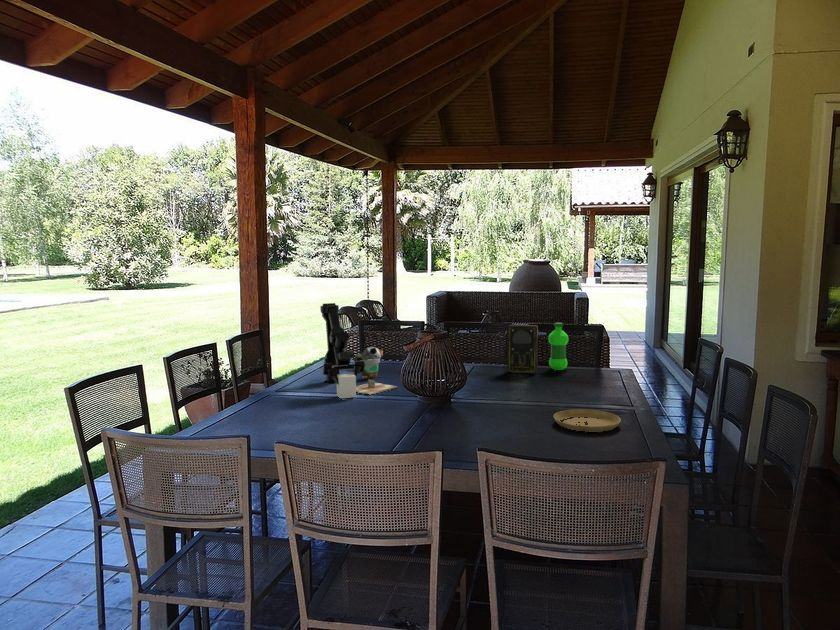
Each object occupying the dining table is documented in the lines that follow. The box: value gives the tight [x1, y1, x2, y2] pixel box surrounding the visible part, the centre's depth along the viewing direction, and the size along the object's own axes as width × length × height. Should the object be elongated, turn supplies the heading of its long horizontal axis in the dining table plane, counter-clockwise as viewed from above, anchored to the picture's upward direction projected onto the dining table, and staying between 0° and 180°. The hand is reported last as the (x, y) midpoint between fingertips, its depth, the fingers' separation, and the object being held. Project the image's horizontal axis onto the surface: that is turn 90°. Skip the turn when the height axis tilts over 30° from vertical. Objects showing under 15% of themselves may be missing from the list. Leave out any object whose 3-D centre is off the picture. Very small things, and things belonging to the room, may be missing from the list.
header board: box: [356, 379, 398, 396], centre depth 296 cm, size 16×18×4 cm
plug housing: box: [336, 372, 357, 399], centre depth 283 cm, size 7×7×10 cm
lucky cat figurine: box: [352, 346, 384, 363], centre depth 352 cm, size 15×12×14 cm
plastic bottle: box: [547, 322, 570, 371], centre depth 335 cm, size 10×10×25 cm
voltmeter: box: [507, 324, 539, 375], centre depth 330 cm, size 16×9×25 cm, turn 73°
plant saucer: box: [553, 409, 622, 433], centre depth 234 cm, size 24×24×3 cm
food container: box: [360, 357, 381, 380], centre depth 322 cm, size 12×6×10 cm, turn 143°
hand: (346, 383), depth 281 cm, fingers closed on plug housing, 7 cm apart
